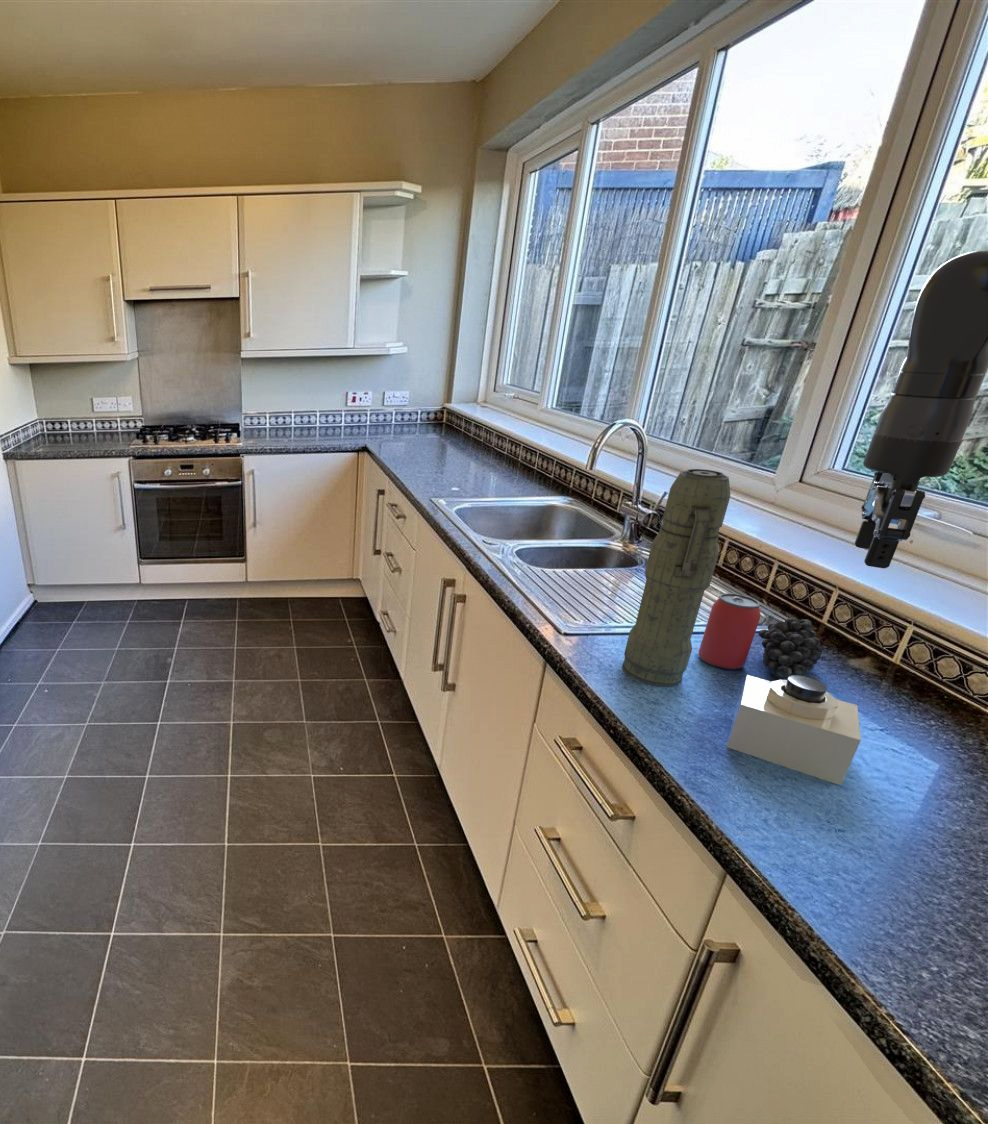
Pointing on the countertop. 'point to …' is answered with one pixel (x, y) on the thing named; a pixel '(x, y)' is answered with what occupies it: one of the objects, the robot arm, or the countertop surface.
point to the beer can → (730, 631)
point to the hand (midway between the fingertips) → (869, 556)
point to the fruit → (790, 647)
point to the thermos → (677, 578)
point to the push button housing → (795, 730)
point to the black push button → (805, 689)
